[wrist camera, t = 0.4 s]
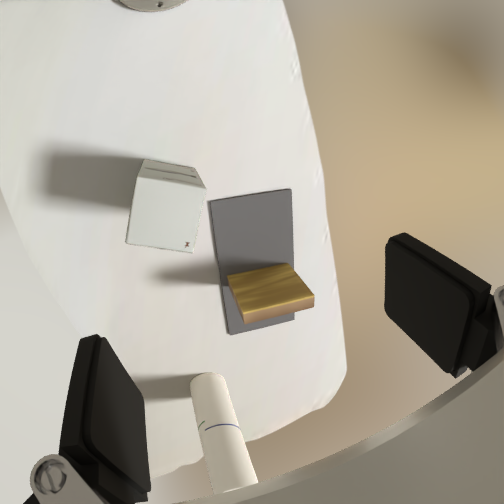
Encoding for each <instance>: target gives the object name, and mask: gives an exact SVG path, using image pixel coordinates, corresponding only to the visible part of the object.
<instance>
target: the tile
mask: <svg viewBox="0 0 504 504" xmlns="http://www.w3.org/2000/svg"><path fill="white" fill-rule="evenodd" d="M227 278H228V286H229V289H230V291H231V293H232V296H233V298H234V301H235V303H236V305H237V308H238V310H239V313H240V315H241V317H242V320H243V322H244V324H249V323H253V322H257V321H261V320H265V319H269V318H274V317H278V316H282V315H285V314H289V313H293V312H297V311H301V310H305V309H309V308H312V307H314V294H313V293H312V292H311V290H310V289H309V288H308V287H307V286H306V284H305V283H304V282H303V281H302V279H301V278H300V277H299V276H298V274H297V273H296V272H295V271H294V270H293V268H292V267H291V266H290V265H289V263H285V264H280V265H275V266H271V267H266V268H261V269H256V270H252V271H247V272H242V273H237V274H232V275H227Z"/></svg>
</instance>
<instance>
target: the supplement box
mask: <svg viewBox="0 0 504 504" xmlns="http://www.w3.org/2000/svg"><path fill="white" fill-rule="evenodd" d="M206 190H207V189H206V187H205V185H204V184H203V182H202V180H201V178H200V176H199V174H198V173H197V171H196V169H195V168H190V167H183V166H177V165H172V164H166V163H161V162H156V161H151V160H147V159H144V160H143V163H142V166H141V169H140V171H139V173H138V176H137V179H136V184H135V188H134V193H133V198H132V204H131V209H130V215H129V221H128V227H127V233H126V240H125V242H126V244H129V245H137V246H144V247H151V248H157V249H164V250H172V251H179V252H186V253H193V252H194V246H195V241H196V236H197V231H198V227H199V222H200V217H201V212H202V208H203V203H204V199H205V195H206Z"/></svg>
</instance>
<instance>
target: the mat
mask: <svg viewBox="0 0 504 504" xmlns="http://www.w3.org/2000/svg"><path fill="white" fill-rule="evenodd" d="M210 205H211V213H212V220H213V228H214V235H215V242H216V249H217V256H218V263H219V270H220V277H221V284H222V290H223V297H224V303H225V310H226V316H227V322H228V329H229V334H230V335H234V334H238V333H243V332H247V331H251V330H255V329H260V328H264V327H268V326H272V325H276V324H280V323H283V322H287V321H291V320H294V312H293V313H289V314H285V315H282V316H278V317H274V318H269V319H265V320H261V321H257V322H253V323H249V324H244V322H243V320H242V317H241V315H240V313H239V310H238V308H237V305H236V303H235V301H234V298H233V296H232V293H231V291H230V289H229V286H228V278H227V275H232V274H237V273H242V272H247V271H252V270H256V269H261V268H266V267H271V266H275V265H280V264H285V263H289V265H290V266H291V267H292V268H293V270H294V251H293V217H292V191H291V189H286V190H279V191H272V192H266V193H259V194H252V195H246V196H240V197H233V198H227V199H221V200H215V201H210Z"/></svg>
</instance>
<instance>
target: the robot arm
mask: <svg viewBox="0 0 504 504" xmlns="http://www.w3.org/2000/svg"><path fill="white" fill-rule="evenodd" d="M120 1H121V2H122V3H123V4H125V5H126V6H128V7H130V8H132V9H135V10H139V11H144V12H157V11H164V10H168V9H172V8H174V7H177V6H179V5H181V4H183V3H185V2H186V1H188V0H120ZM158 5H161V7H158ZM490 290H491V285H490V284H488V283H487V282H486V281H484V280H483V279H481V278H480V277H478V276H476V275H475V274H473V273H472V272H470V271H469V270H467V269H466V268H464V267H462V266H460V265H459V264H458V263H456V262H454V261H453V260H451V259H449V258H448V257H446V256H445V255H443V254H441V253H439V252H438V251H436V250H435V249H433V248H431V247H429V246H428V245H426V244H424V243H423V242H421V241H419V240H418V239H416V238H414V237H412V236H411V235H409V234H407V233H401V234H398V235H395V236H393V237H390V238H389V240H388V243H387V244H386V247H385V303H384V307H385V312H386V314H387V315H388V317H389V318H390V319H392V320H393V321H394V322H395V323H396V324H397V325H398V326H399V327H400V328H401V329H402V330H403V331H404V332H405V333H406V334H407V335H408V336H409V337H410V338H411V339H412V340H413V341H414V342H416V344H417V345H418V346H420V348H421V349H422V350H423V351H424V352H425V353H426V354H427V355H428V356H429V357H430V358H431V359H433V360H434V362H435V363H436V364H437V365H438V366H439V367H440V368H441V369H442V370H443V371H445V372H446V373H450V374H451V375H452V376H454V378H457V377H459V376H460V375H461V374H463V373H464V372H465V371H466V370H467V368H470V370H471V374H470V375H468V376H467V377H466V378H464V379H463V380H462V381H460V382H459V383H458V384H456V385H455V386H453V387H452V388H450V389H449V390H447V391H446V392H444V393H443V394H441V395H440V396H439V397H437V398H435V399H434V400H432V401H431V402H429V403H428V404H426V405H425V406H423V407H421V408H420V409H418V410H417V411H415V412H414V413H412V414H410V415H408V416H407V417H405V418H403V419H402V420H400V421H398V422H397V423H395V424H393V425H391V426H389V427H387V428H386V429H384V430H382V431H380V432H378V433H376V434H374V435H372V436H370V437H369V438H367V439H365V440H363V441H361V442H359V443H357V444H354V445H352V446H350V447H348V448H346V449H344V450H342V451H339V452H337V453H335V454H333V455H331V456H328V457H326V458H324V459H321V460H319V461H316V462H314V463H312V464H309V465H307V466H304V467H302V468H299V469H296V470H294V471H291V472H288V473H285V474H283V475H280V476H277V477H274V478H271V479H268V480H265V481H262V482H259V483H256V484H252V485H249V486H246V487H242V488H239V489H235V490H231V491H228V492H224V493H220V494H216V495H212V496H207V497H203V498H198V499H194V500H189V501H185V502H179V503H174V504H504V285H503V286H501V287H498V288H497V289H496V290H495V292H494V295H491V294H490ZM30 485H31V488H32V490H33V492H34V493H33V494H32V495H31V496H30V497H29V498H28V499H27V500H26V501H25V502H24V503H23V504H135V503H137V502H146V501H148V498H147V492H150V491H151V482H150V473H149V463H148V452H147V440H146V425H145V406H144V399H143V396H142V394H141V392H140V391H139V389H138V388H137V386H136V385H135V383H134V382H133V380H132V379H131V377H130V376H129V374H128V373H127V371H126V370H125V368H124V367H123V365H122V363H121V362H120V360H119V359H118V357H117V355H116V354H115V352H114V351H113V349H112V347H111V346H110V344H109V342H108V341H107V339H106V338H105V337H102V338H101V337H100V336H99V335H98V334H95V335H92V336H88V337H85V338H82V339H80V341H79V345H78V349H77V353H76V357H75V362H74V367H73V371H72V376H71V380H70V385H69V390H68V395H67V400H66V406H65V412H64V418H63V424H62V431H61V438H60V445H59V454H58V455H55V454H51V455H48V456H44V457H43V458H42V459H40V460H39V461H38V462H37V463H36V464H35V465H34V468H33V469H32V471H31V476H30Z"/></svg>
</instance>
